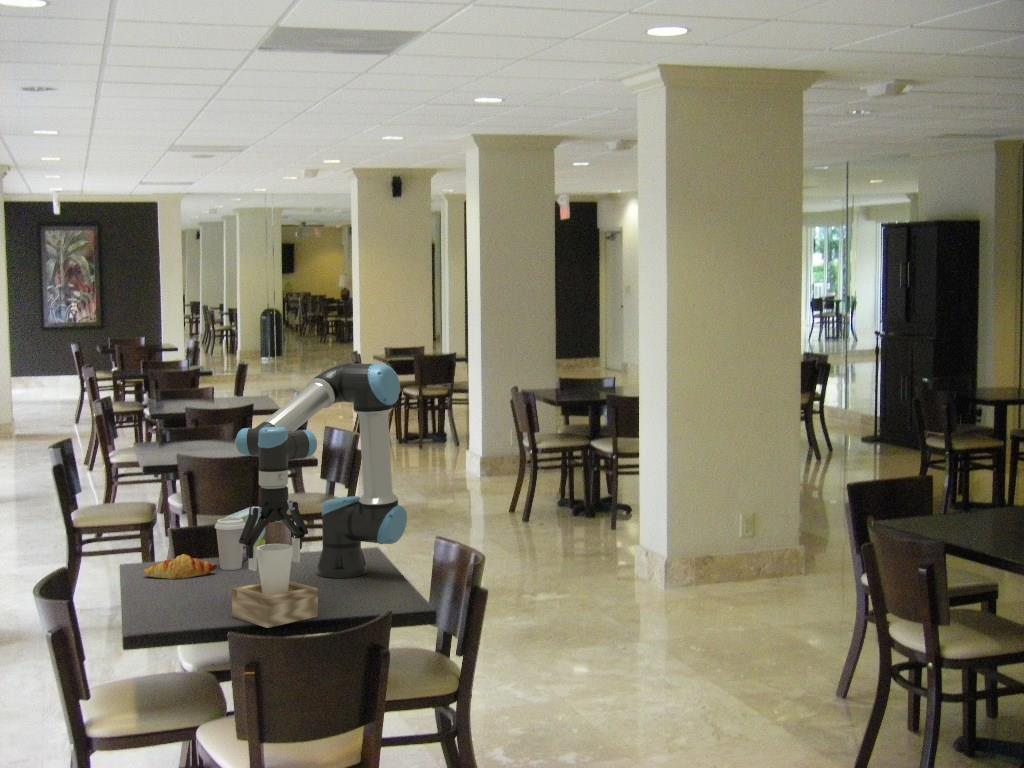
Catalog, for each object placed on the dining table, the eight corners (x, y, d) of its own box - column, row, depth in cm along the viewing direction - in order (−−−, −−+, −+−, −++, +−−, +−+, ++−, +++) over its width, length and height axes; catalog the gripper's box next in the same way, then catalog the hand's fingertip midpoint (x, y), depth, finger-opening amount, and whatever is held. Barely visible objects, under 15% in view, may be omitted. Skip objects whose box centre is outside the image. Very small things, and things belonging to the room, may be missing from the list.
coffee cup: (250, 564, 388) (250, 517, 387) (240, 571, 378) (240, 523, 377) (221, 564, 389) (220, 517, 388) (210, 570, 379) (210, 522, 378)
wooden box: (282, 605, 337) (282, 578, 337) (317, 616, 326) (317, 588, 326) (232, 616, 326) (231, 588, 325) (267, 628, 315) (266, 599, 314)
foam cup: (258, 601, 320) (257, 551, 319) (255, 593, 329) (254, 544, 328) (295, 598, 323) (294, 549, 322) (291, 590, 331) (290, 542, 330)
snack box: (240, 564, 388) (239, 517, 387) (223, 564, 389) (222, 516, 388) (266, 551, 409) (266, 506, 408) (250, 550, 410) (250, 505, 409)
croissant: (144, 591, 368) (143, 570, 363) (144, 569, 376) (143, 549, 372) (217, 585, 373) (216, 565, 369) (215, 564, 381) (215, 543, 377)
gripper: (241, 493, 312) (242, 576, 314) (320, 482, 330) (321, 560, 331) (224, 490, 317) (225, 571, 319) (303, 479, 335) (304, 556, 337)
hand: (274, 566), depth 325 cm, fingers open, 13 cm apart
